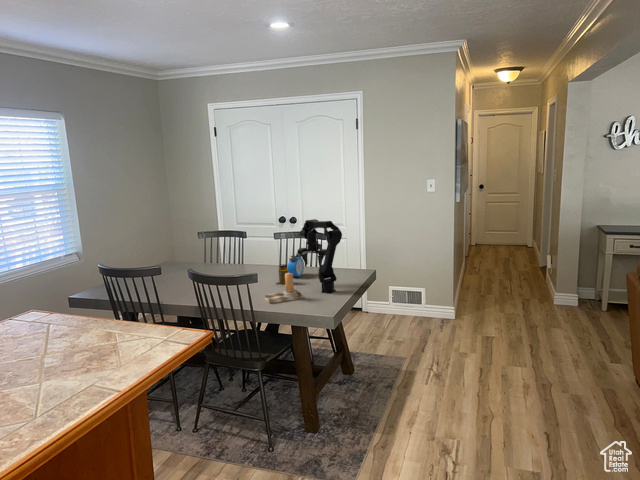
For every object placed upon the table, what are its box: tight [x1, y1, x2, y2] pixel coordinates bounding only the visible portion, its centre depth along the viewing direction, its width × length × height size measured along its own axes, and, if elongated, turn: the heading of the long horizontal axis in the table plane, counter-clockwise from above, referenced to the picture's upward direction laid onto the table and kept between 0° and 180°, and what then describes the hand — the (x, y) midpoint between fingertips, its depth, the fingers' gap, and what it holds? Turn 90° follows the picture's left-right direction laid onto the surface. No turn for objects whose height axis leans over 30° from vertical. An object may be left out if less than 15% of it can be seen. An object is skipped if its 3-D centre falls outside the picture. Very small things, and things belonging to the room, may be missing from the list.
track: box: [264, 289, 304, 304], centre depth 263 cm, size 20×9×3 cm, turn 111°
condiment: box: [274, 263, 289, 287], centre depth 294 cm, size 7×8×12 cm
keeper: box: [282, 272, 297, 296], centre depth 263 cm, size 6×6×12 cm
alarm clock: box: [287, 253, 305, 278], centre depth 310 cm, size 13×6×15 cm, turn 157°
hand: (313, 265), depth 284 cm, fingers open, 9 cm apart
